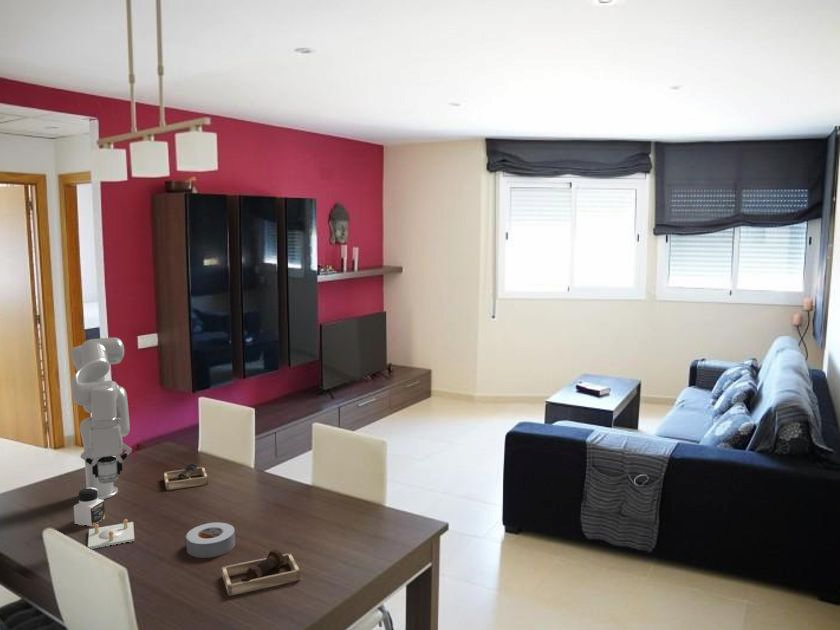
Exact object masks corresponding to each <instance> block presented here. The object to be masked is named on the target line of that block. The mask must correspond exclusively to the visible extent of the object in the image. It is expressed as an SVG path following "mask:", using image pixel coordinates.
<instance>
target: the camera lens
mask: <svg viewBox="0 0 840 630" xmlns="http://www.w3.org/2000/svg"><path fill="white" fill-rule="evenodd" d="M117 461H118V459H117V458H116V456H110V457H102V458H100V459H98V461H97V473H98V480H99V482H100V483H112V482H113V483H114V482H116V481H117V480H118V478H119V474H118V466H117Z"/></svg>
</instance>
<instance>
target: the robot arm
mask: <svg viewBox="0 0 840 630" xmlns="http://www.w3.org/2000/svg"><path fill="white" fill-rule="evenodd" d="M70 351H71V352H70V356H71V357H70V358H71V360H72V363H73V367H74V368H75V371H76V372H75V373H74V375H73V376H72V378H71V393H72V394H71V395H72V399H73V402H74V403H75V404H76V405H78V406H82V407H83V410H84V412H86V413H89V414H90V413H91V416H90V417H86V418H84V419H83V420H82V421H81V423H80V424H79V432H80V435H81V440H82V445H83V446H82V447H83V452H82V453H81V454H80V458H81V459H82V460H84V470H85V471H84V472H85V483H86V484H85V485H86V488H96V489H97V490H98V499H101V500H106V499H110V498H111V497H112V498H113V497H114V496H115V495H117V494H118V492H119V488H118V487H117V486H114V482H112V483H100V482H99V480H98V473H97V461H98V459H100V458H102V457H110V456H113V457H116V458H117V466H118V475H121V472H122V471H123V461H125V460H126V458H127V457H128V456H129V455H130V454H131V453H132V451H133V448H132V447H130V446H129V445H127V444H126V443H125V442H123V437H127V436H128V435H129V433H130V430H131V429H130V427H131V426H130V424H131V423H130V415H129V414H130V413H129V404H128V394H127V391H126V389H125V388H124V387H123V386H120V385H119V384H118V383H117V382H116V381H114V380H106V379H105V376H106V375H107V374H108V373H109V371H110V369H111V366H112V365H118V364H120V363H121V362H122V360H123V359H124V356H125V346H124V342H123V341H122V339H120V338H119V337H104V338H103V337H102V338H91V339H87V340H86V341H84V342H82V344H81V345H78V346H75V347H73V348H72V349H71V350H70ZM124 450H125V452H124V453H123V451H124Z"/></svg>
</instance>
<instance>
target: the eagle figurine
mask: <svg viewBox="0 0 840 630" xmlns="http://www.w3.org/2000/svg"><path fill="white" fill-rule="evenodd" d="M196 468H197V465H196V464H195V463H190V464H189V465H187V466H186V467H184V469H183V470H184V472H183V474H182V473H181V472H180V473H178V474H176V476H175V477H176V478H175V479H180V480H186V479H192V476H191V474H190V473H192V472H194V471H195V470H196ZM189 474H190V475H189ZM180 477H181V478H180Z"/></svg>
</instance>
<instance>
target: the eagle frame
mask: <svg viewBox="0 0 840 630" xmlns="http://www.w3.org/2000/svg"><path fill="white" fill-rule="evenodd" d="M180 472H181V473H182V474H183V472H184V469H180V470H179V469H178V470H177V469H176V470H171V471H164V472H163V478H164V484H165V489H166V490H165V491H172V490H178V489H186V488H191V487H199V486H204V485H205V486H206V485H208V484H209V477H208V474H207V472H206V470H205V466H198V467H196V470H195V471H194V472H192V473H190V474H191V477H192V478H191V479H186V480H181V479H182V478H181V477H180V478H179V479H178V480H174V479H177V478H176V477H175V476H176V474H178V473H180ZM190 474H189V475H190ZM200 475H201V476H202V477H200ZM193 476H194V477H193ZM195 476H199V477H195ZM169 480H173V481H169Z"/></svg>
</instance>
